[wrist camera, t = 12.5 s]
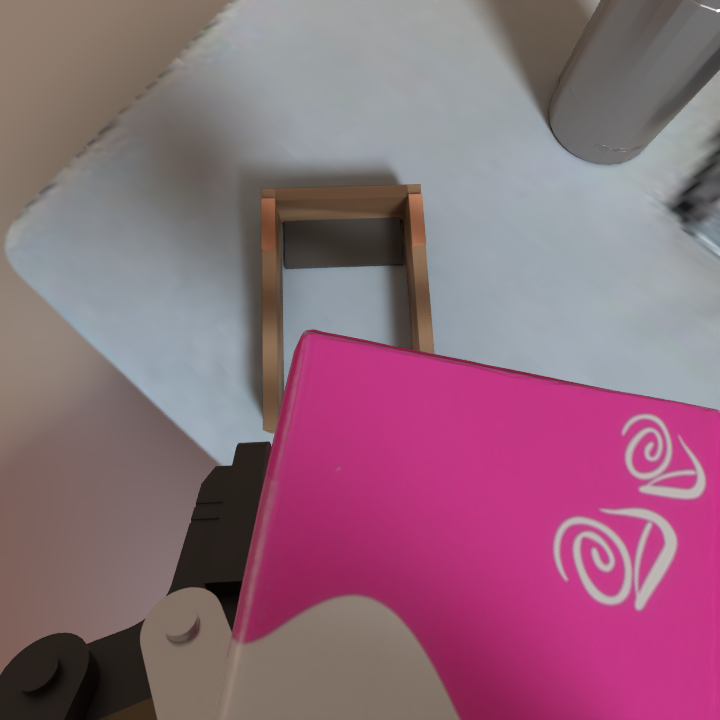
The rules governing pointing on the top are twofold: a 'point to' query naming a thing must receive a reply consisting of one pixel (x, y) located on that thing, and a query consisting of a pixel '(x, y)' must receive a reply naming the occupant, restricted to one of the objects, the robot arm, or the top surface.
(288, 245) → the channel
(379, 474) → the supplement box
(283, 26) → the top surface
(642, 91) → the robot arm
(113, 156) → the top surface
